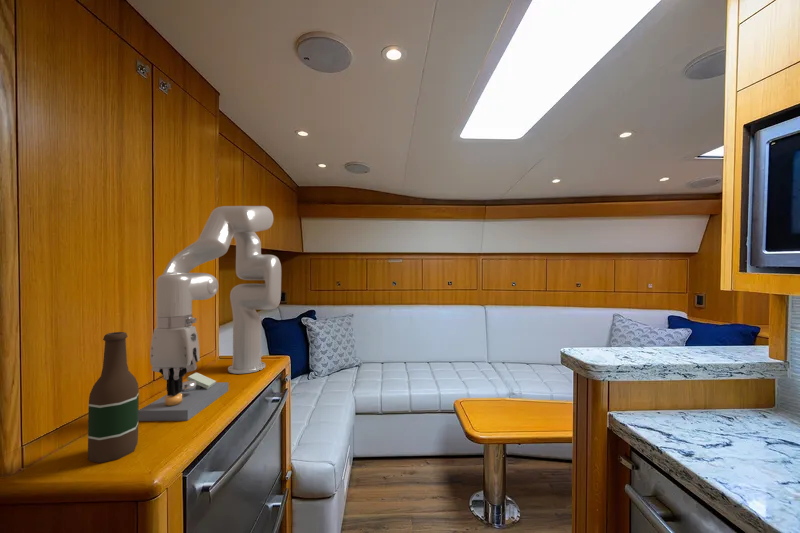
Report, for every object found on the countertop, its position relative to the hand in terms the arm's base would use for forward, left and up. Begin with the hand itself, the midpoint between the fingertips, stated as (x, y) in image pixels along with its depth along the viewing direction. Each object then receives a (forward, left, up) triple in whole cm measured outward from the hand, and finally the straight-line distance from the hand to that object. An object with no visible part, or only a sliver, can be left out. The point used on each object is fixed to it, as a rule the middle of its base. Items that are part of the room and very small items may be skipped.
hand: (174, 393), depth 84 cm
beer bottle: (+18, 0, -5) cm, 19 cm away
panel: (-6, 0, -5) cm, 8 cm away
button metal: (-6, 0, -1) cm, 6 cm away
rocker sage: (-12, 0, -1) cm, 12 cm away
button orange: (0, 0, -2) cm, 2 cm away
